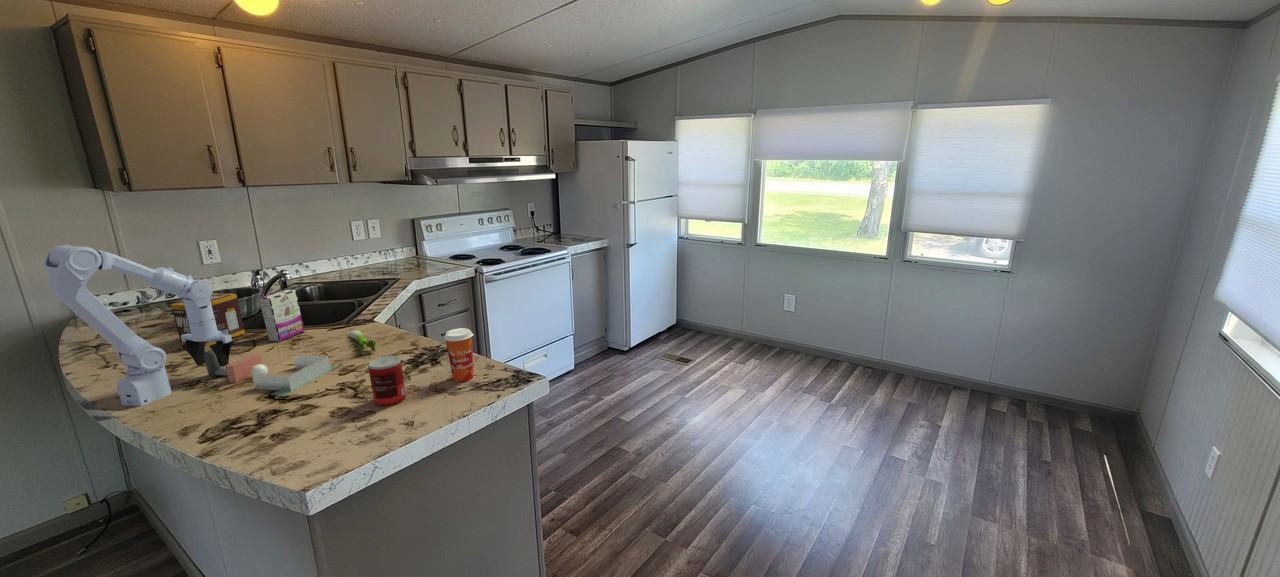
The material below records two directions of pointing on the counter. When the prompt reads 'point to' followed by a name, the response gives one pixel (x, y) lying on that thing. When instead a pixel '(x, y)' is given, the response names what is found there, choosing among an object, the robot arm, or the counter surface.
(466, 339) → the paper cup
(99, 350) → the counter surface
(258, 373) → the ball
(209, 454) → the counter surface
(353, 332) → the leek
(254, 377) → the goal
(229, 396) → the counter surface
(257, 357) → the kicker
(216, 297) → the supplement box
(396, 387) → the canned food
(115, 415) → the counter surface
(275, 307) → the candy bar box
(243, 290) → the bundt pan
